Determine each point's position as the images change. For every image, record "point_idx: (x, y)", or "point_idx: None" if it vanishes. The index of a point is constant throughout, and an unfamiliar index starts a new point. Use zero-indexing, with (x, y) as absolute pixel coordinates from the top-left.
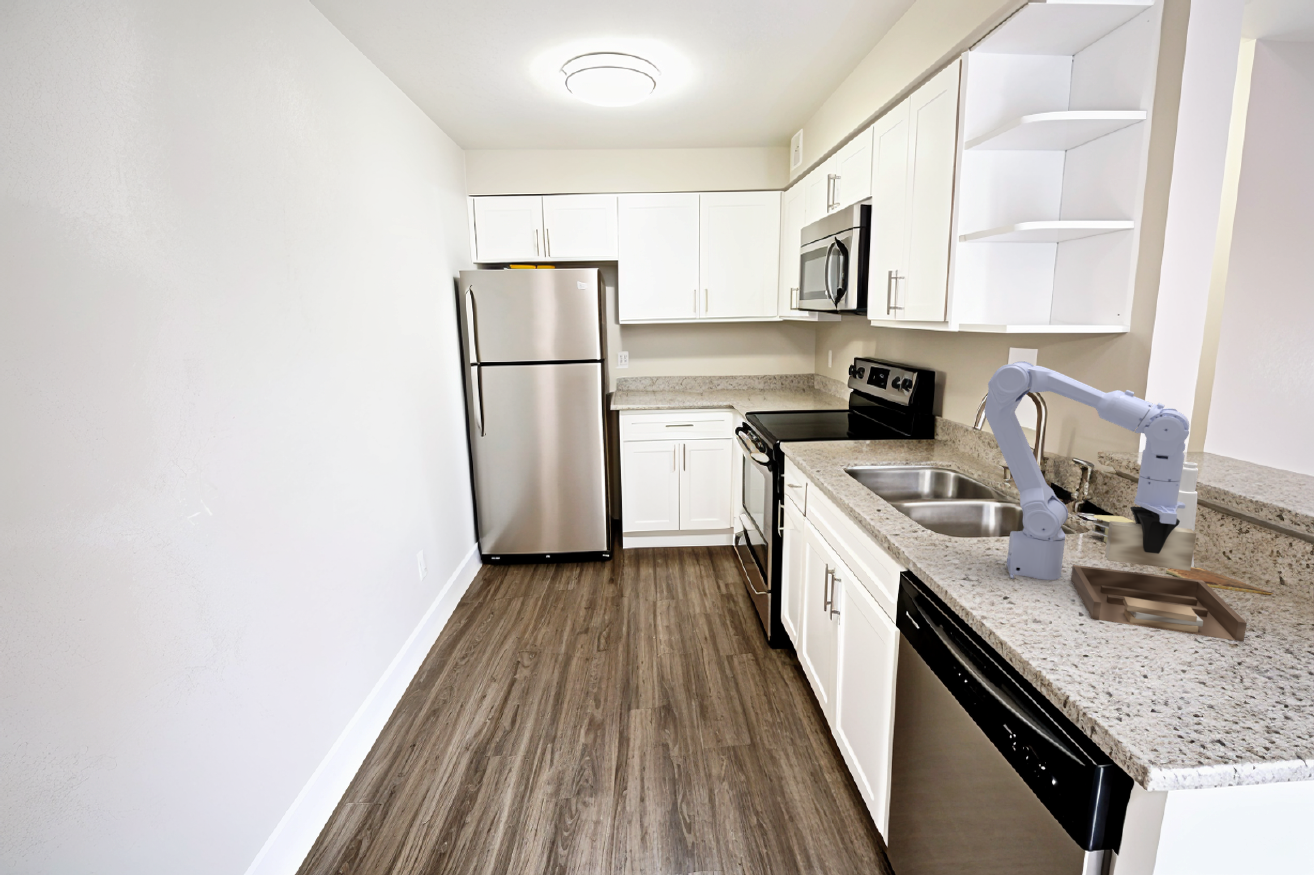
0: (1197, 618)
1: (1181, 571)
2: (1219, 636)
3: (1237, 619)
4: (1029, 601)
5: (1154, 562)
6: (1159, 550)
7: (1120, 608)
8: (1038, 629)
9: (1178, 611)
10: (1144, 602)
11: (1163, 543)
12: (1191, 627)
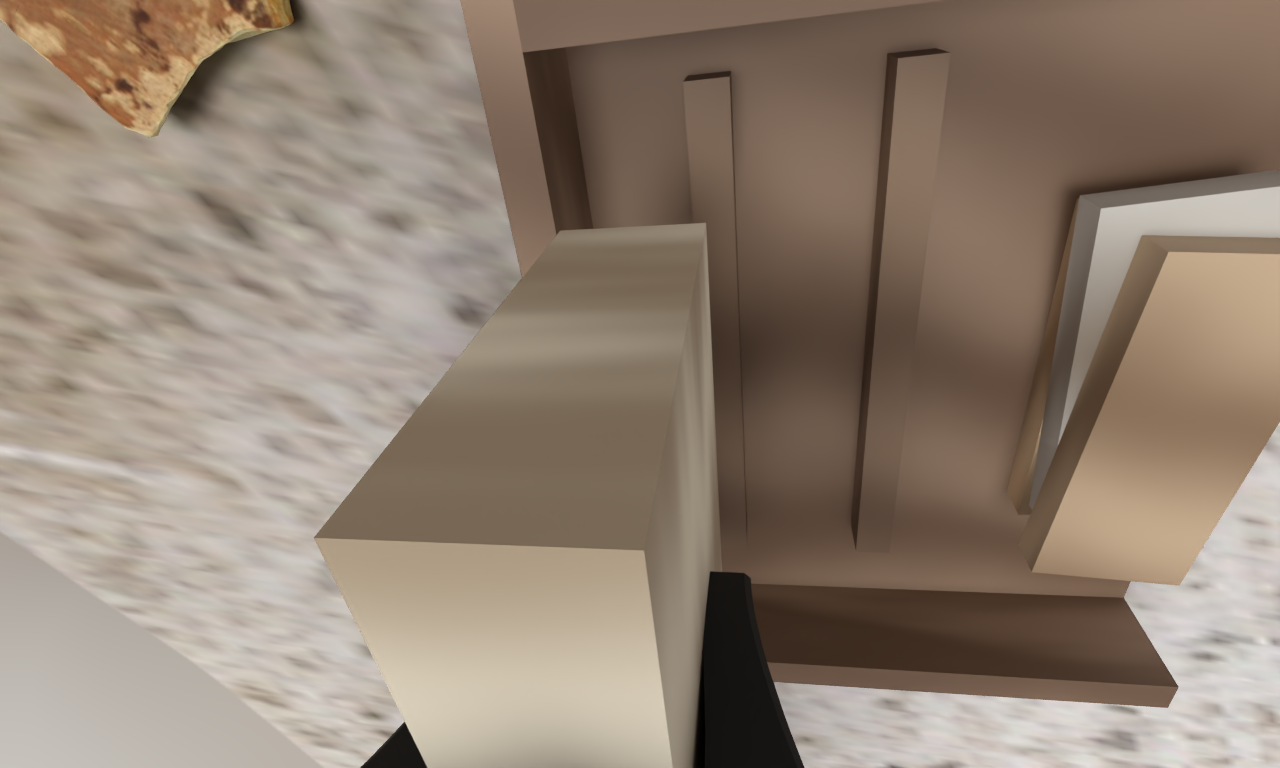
0: (1260, 212)
1: (102, 39)
2: None
3: None
4: (911, 725)
5: (716, 503)
6: (752, 607)
7: (939, 491)
8: (1206, 749)
9: (1274, 356)
10: (1119, 503)
11: (768, 681)
12: None
